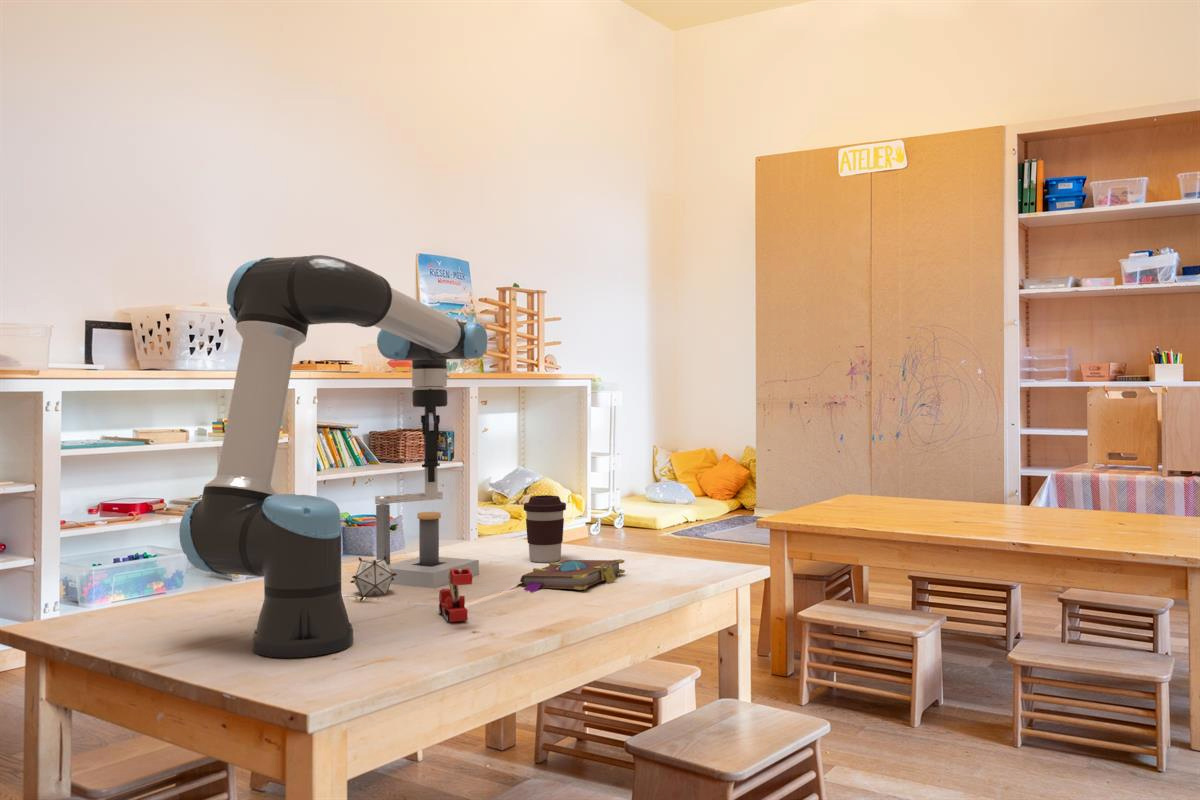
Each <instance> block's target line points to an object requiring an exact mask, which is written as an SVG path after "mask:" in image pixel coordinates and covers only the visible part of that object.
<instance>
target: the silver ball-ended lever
mask: <svg viewBox="0 0 1200 800" xmlns="http://www.w3.org/2000/svg"><path fill="white" fill-rule="evenodd" d="M443 497H444V496H443V491H438V497H425V492H419V493H405V494H395V495H393V494H392V495H375V496H374V500H375V501H374V504H375V505H380V504H388V505H391V504H399V503H412V502H423V501H436V500H444V499H443Z"/></svg>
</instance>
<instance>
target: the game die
mask: <svg viewBox="0 0 1200 800" xmlns="http://www.w3.org/2000/svg"><path fill="white" fill-rule="evenodd" d="M385 559H386V556H384V559H378V560H377V559H366V560H365V559H364V560H363V559H362V558H361V557H358V560H359V561H360V562H359V565H358V567H357V571H356V572H355V575H352V576H351V578H352V579H354V580H350V583H351V584H354V585H355V586H356V589H357V590H358V593H360V594H359V595H361V597H360V599H359V601H360V602H361V601H363V600H364V598H366V597H369V596H381V595H382V596H383V595H387V594H388V591H389V590H390V586H391V584H390V583H391V581H393V580H394V578H393V576H396V575H397V574H396V573H394V574H393V573H392V571H391V570H390V568H389V566H388V565H387V563H386V561H385Z"/></svg>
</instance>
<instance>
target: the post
mask: <svg viewBox="0 0 1200 800" xmlns="http://www.w3.org/2000/svg"><path fill="white" fill-rule="evenodd" d="M390 505H391V504H375V517H376V518H375V523H376V525H375V526H376V527H375V530H376V531H375V533H376V534H375V535H376V537H375V538H376V539H375V541H376V560H378V559H384V556H386V559H385V561H386V563H387V565H389V564H391V529H390V528H391V522H390V521H391V518H390V517H391V516H390V514H391V510H390V509H391V508H390V507H391V506H390Z"/></svg>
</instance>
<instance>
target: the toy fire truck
mask: <svg viewBox="0 0 1200 800" xmlns="http://www.w3.org/2000/svg"><path fill="white" fill-rule="evenodd" d="M448 579H449V588H442V589H440V590H439V595H438V599H439V602H438V613H439V615H440V616H444V620H445V621H446V622H447V623H453V622H454V623H455V622H465V621H468V609H467V608H466V607H465V605H466V603H465V602H466V600H465V599H466V597H465V595H460V587H459V586H468V585H473V576H472V573H471V571H470V569H469V568H465V569H450V572H449V576H448Z"/></svg>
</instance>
